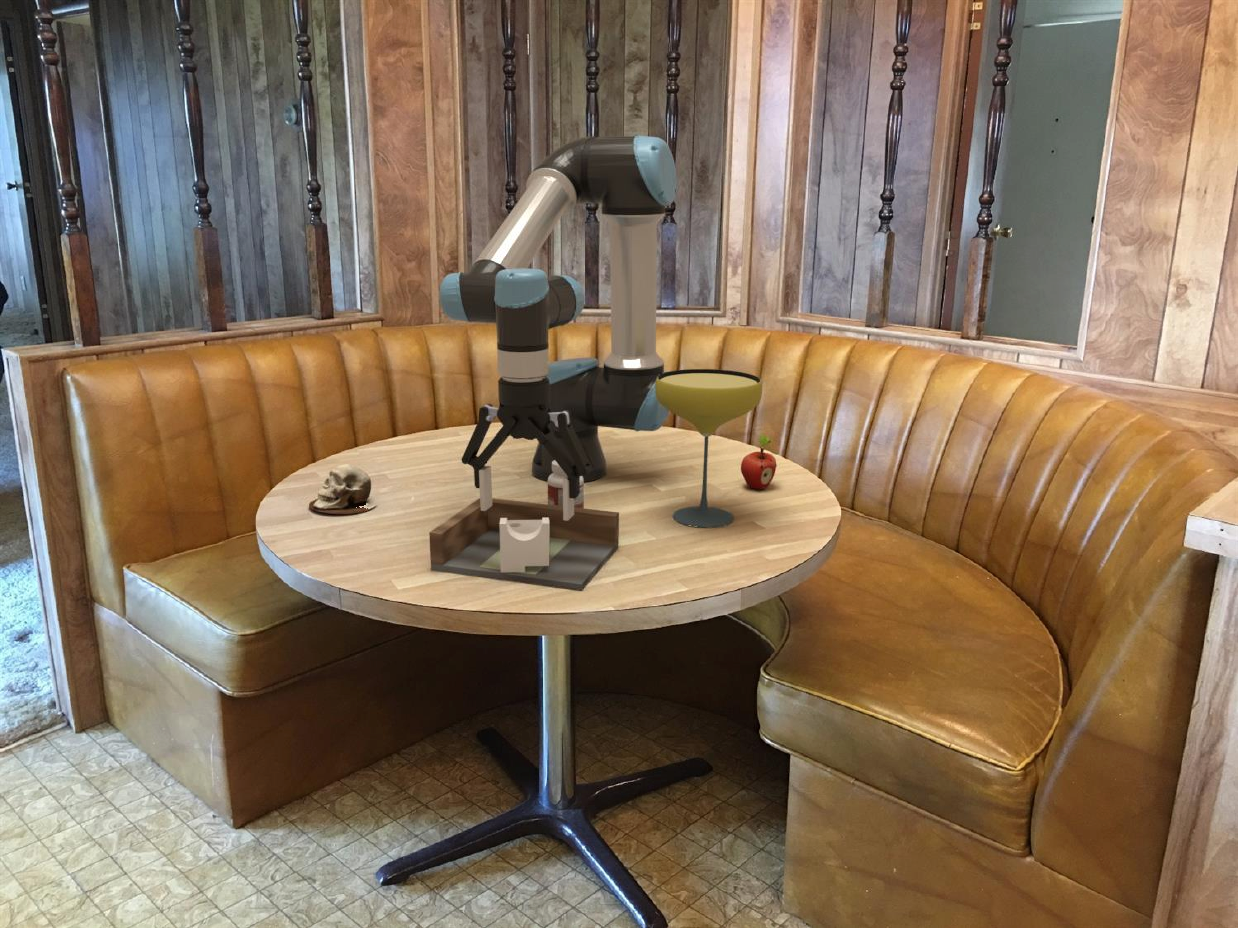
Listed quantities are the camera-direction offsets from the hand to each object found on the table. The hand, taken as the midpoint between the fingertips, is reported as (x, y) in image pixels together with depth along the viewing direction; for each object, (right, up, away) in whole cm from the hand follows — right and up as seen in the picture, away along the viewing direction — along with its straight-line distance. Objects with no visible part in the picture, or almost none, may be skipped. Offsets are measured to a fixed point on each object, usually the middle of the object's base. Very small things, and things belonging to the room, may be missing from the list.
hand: (527, 513), depth 143 cm
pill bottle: (+5, -3, +18) cm, 19 cm away
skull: (-36, 0, +26) cm, 44 cm away
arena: (0, -7, +2) cm, 8 cm away
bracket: (0, -7, 0) cm, 7 cm away
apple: (+41, +3, +39) cm, 57 cm away
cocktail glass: (+29, -2, +22) cm, 36 cm away
